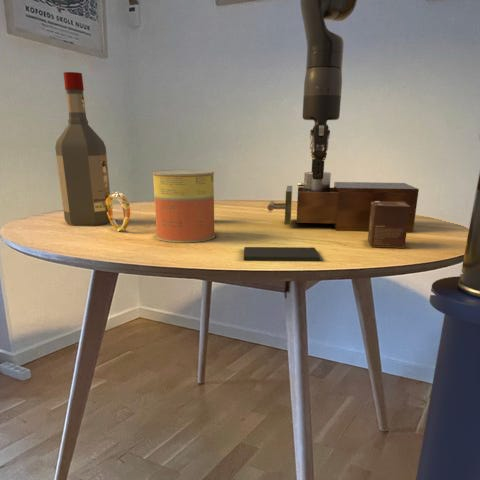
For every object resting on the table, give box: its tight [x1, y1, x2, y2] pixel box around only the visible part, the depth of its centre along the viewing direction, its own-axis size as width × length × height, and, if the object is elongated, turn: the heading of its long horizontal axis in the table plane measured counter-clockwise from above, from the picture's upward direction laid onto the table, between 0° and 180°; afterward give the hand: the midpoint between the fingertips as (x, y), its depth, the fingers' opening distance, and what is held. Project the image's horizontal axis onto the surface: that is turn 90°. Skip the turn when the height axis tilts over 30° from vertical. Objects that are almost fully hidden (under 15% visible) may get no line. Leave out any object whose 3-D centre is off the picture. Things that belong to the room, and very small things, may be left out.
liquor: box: [54, 71, 111, 227], centre depth 100 cm, size 9×9×30 cm
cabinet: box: [332, 181, 420, 233], centre depth 101 cm, size 16×14×9 cm
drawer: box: [267, 185, 339, 225], centre depth 103 cm, size 18×12×7 cm
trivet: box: [243, 246, 321, 262], centre depth 76 cm, size 12×7×1 cm, turn 89°
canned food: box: [152, 169, 216, 244], centre depth 89 cm, size 11×11×12 cm
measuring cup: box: [296, 171, 332, 192], centre depth 102 cm, size 7×6×9 cm
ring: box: [105, 190, 131, 232], centre depth 94 cm, size 7×3×8 cm, turn 41°
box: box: [367, 201, 410, 249], centre depth 83 cm, size 6×6×7 cm
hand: (316, 177), depth 101 cm, fingers open, 8 cm apart
